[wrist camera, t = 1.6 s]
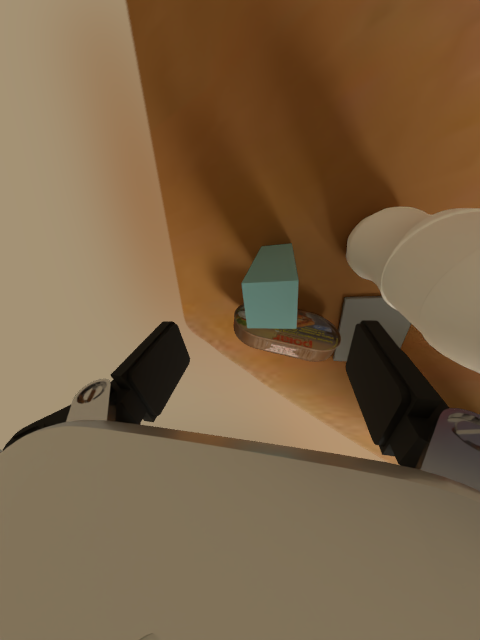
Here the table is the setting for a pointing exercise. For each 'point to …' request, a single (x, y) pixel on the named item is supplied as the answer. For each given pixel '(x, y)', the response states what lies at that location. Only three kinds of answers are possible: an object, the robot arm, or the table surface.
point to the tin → (292, 336)
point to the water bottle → (426, 273)
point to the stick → (272, 289)
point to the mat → (368, 310)
